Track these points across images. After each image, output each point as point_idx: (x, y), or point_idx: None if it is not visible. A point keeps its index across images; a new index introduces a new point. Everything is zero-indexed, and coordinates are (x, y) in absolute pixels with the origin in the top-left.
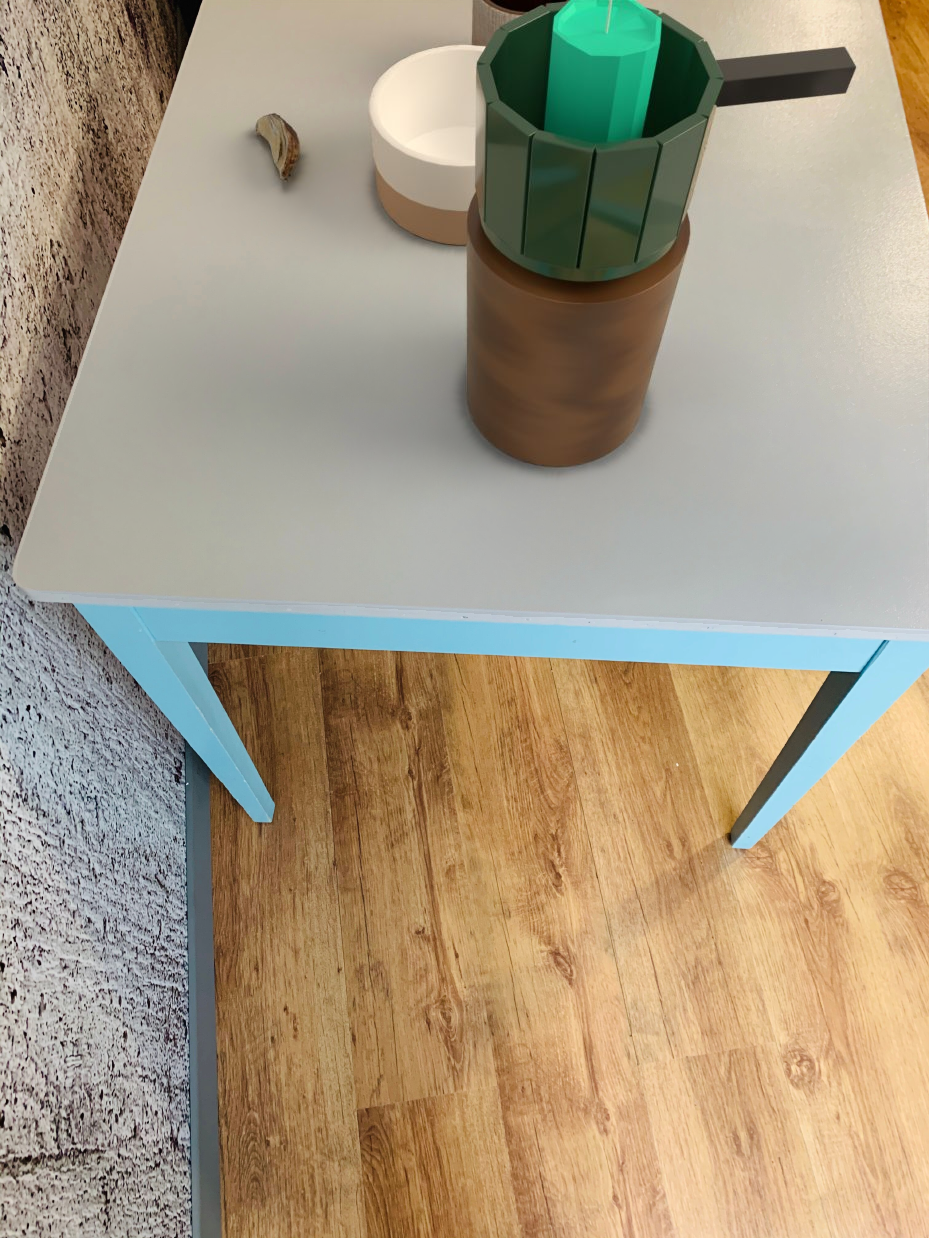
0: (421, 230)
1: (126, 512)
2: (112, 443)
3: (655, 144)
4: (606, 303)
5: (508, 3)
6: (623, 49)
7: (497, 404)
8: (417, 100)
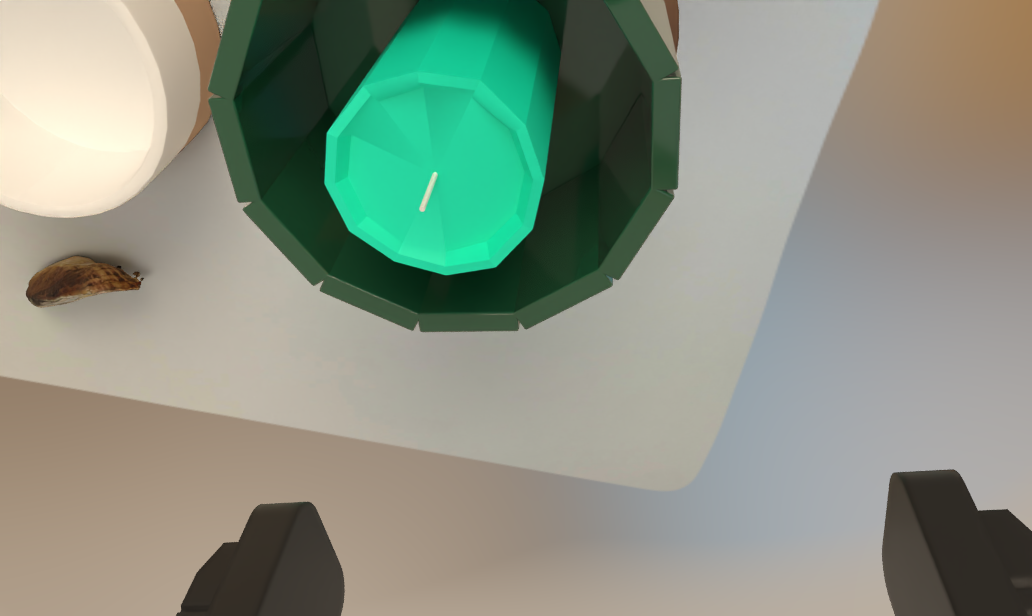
0: (209, 112)
1: (630, 425)
2: (543, 436)
3: (674, 83)
4: (677, 24)
5: None
6: (492, 153)
7: None
8: None
